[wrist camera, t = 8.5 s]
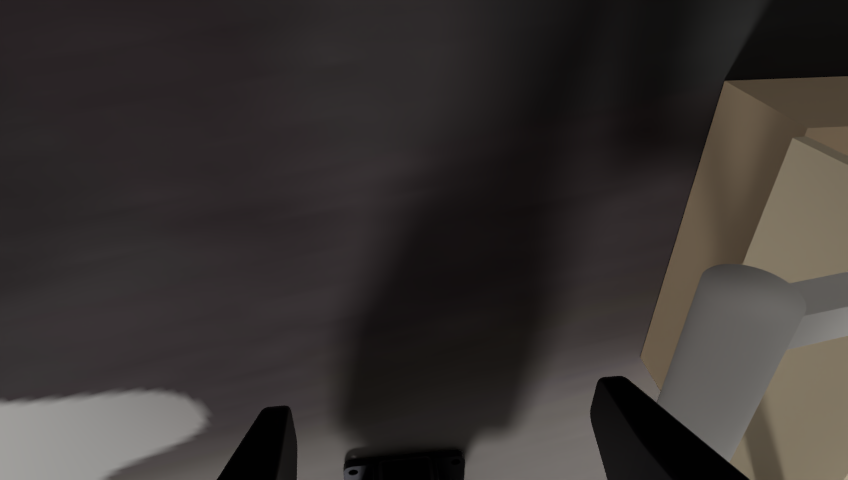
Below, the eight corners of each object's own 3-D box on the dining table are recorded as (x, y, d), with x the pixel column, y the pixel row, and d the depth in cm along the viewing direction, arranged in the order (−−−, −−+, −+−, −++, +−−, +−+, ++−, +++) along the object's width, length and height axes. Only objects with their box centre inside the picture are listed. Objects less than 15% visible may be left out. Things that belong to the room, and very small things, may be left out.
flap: (794, 567, 19) (617, 627, 18) (685, 429, 24) (537, 467, 23) (1033, 244, 12) (760, 300, 10) (806, 136, 17) (596, 163, 15)
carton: (860, 338, 29) (943, 414, 25) (640, 357, 28) (689, 440, 24) (1021, 69, 21) (1178, 117, 17) (724, 80, 20) (819, 135, 16)
